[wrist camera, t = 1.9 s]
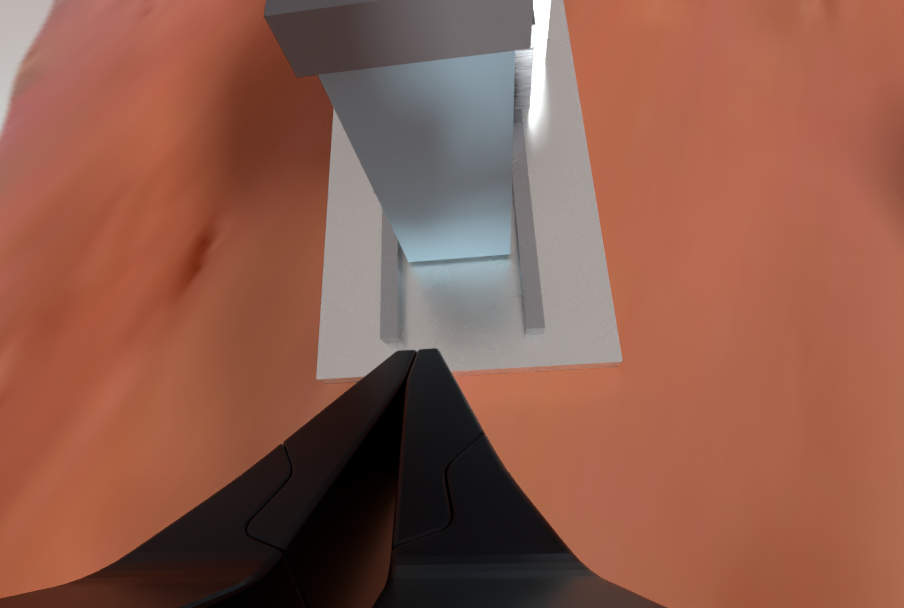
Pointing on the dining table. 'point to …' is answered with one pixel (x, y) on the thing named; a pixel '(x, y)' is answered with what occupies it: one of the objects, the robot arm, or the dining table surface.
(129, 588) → the robot arm
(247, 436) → the dining table surface
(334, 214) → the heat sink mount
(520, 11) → the light blue bar
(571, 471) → the dining table surface
